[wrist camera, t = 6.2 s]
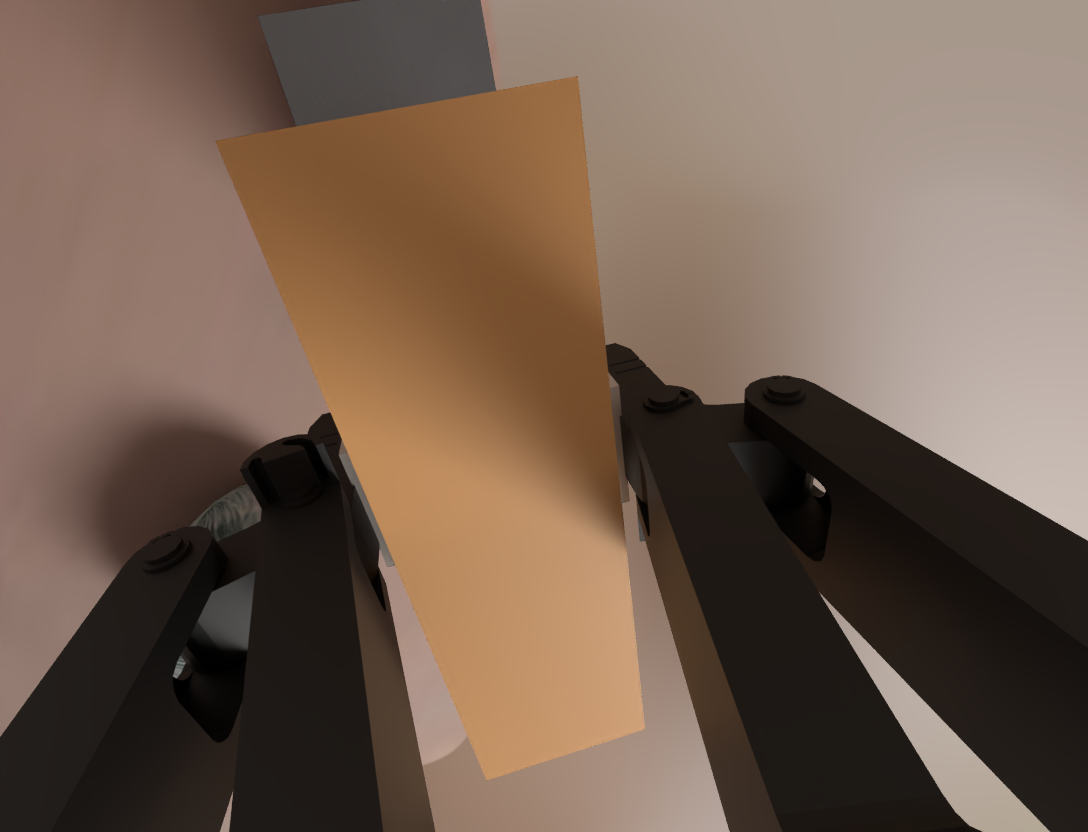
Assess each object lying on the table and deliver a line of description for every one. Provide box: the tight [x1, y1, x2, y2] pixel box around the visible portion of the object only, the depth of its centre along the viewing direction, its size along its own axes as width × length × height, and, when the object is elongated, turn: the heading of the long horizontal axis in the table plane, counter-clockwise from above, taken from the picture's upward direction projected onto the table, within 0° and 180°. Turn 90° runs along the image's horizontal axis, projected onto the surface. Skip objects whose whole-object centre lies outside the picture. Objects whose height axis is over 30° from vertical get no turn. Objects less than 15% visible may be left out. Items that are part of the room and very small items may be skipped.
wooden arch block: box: [215, 76, 645, 780], centre depth 13 cm, size 4×12×12 cm, turn 9°
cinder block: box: [258, 0, 496, 126], centre depth 26 cm, size 8×20×4 cm, turn 9°
